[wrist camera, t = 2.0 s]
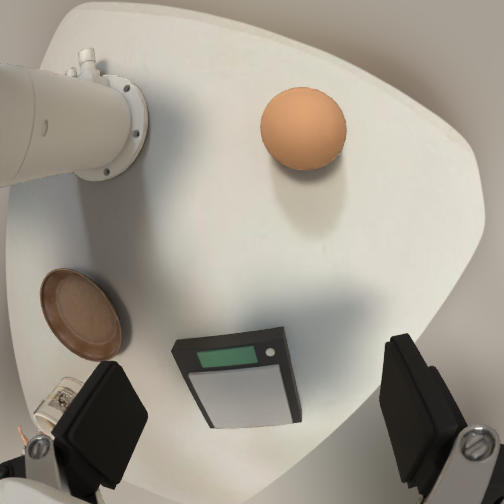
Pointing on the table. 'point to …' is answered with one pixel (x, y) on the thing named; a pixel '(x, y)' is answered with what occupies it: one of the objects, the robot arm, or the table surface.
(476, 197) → the table surface
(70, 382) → the mug
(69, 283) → the saucer
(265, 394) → the scale
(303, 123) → the egg
